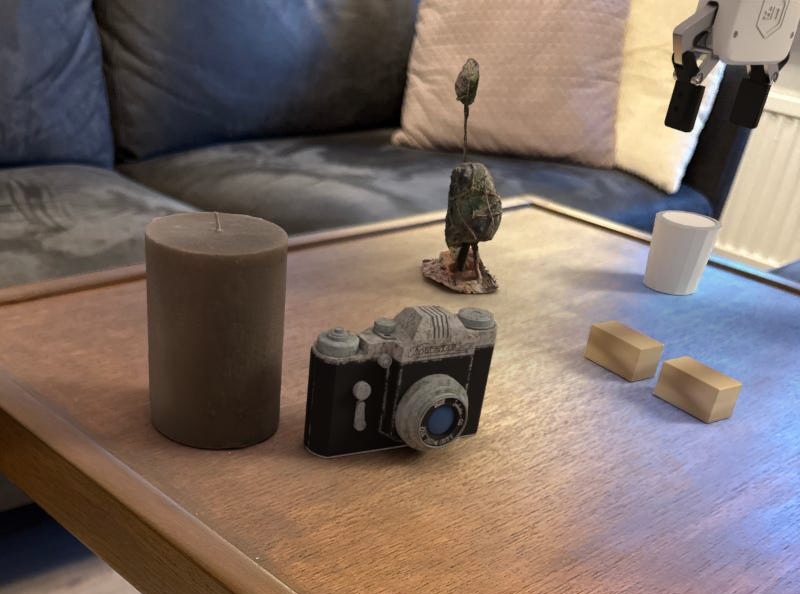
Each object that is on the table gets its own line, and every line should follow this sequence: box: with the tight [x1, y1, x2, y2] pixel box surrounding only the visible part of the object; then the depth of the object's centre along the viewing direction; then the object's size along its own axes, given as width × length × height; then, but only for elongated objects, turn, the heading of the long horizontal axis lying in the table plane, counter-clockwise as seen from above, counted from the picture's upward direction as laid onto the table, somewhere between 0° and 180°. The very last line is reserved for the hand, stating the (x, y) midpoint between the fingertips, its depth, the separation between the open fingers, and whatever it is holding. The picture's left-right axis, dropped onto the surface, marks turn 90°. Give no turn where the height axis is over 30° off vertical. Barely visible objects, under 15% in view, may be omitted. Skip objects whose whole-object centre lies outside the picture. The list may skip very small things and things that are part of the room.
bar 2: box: [652, 355, 744, 424], centre depth 82 cm, size 6×3×3 cm, turn 32°
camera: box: [302, 304, 499, 459], centre depth 70 cm, size 15×7×10 cm, turn 115°
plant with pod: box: [421, 57, 504, 295], centre depth 96 cm, size 8×11×20 cm
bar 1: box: [583, 319, 665, 383], centre depth 87 cm, size 6×3×3 cm, turn 32°
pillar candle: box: [144, 210, 289, 450], centre depth 69 cm, size 10×10×15 cm
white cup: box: [643, 209, 723, 296], centre depth 105 cm, size 7×7×7 cm
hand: (710, 127), depth 97 cm, fingers open, 9 cm apart
